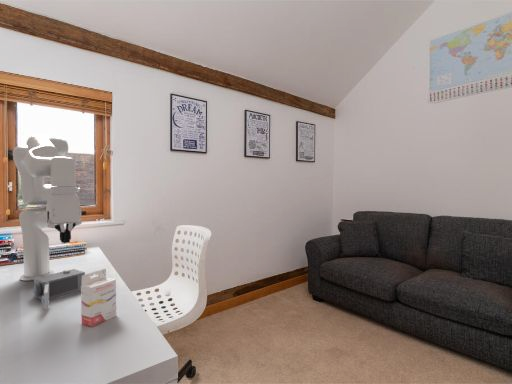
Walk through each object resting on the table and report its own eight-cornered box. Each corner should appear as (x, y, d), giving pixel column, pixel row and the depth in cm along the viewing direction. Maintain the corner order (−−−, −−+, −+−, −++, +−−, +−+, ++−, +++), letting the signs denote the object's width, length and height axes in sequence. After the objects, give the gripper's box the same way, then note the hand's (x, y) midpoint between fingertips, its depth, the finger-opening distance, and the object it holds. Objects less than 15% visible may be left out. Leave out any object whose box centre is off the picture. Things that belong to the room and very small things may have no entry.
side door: (50, 298, 105) (49, 281, 105) (49, 309, 96) (48, 291, 96) (43, 299, 104) (42, 283, 104) (42, 310, 95) (41, 292, 94)
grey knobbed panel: (29, 298, 108) (28, 277, 108) (74, 285, 121) (73, 267, 121) (39, 303, 103) (39, 281, 103) (85, 289, 116) (84, 270, 116)
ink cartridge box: (92, 327, 85) (90, 277, 84) (81, 324, 87) (79, 275, 86) (117, 315, 92) (116, 269, 92) (106, 312, 95) (105, 267, 94)
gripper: (81, 190, 113) (82, 238, 113) (34, 192, 101) (37, 245, 101) (90, 191, 108) (92, 240, 109) (43, 192, 96) (45, 247, 97)
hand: (65, 242), depth 105 cm, fingers closed
